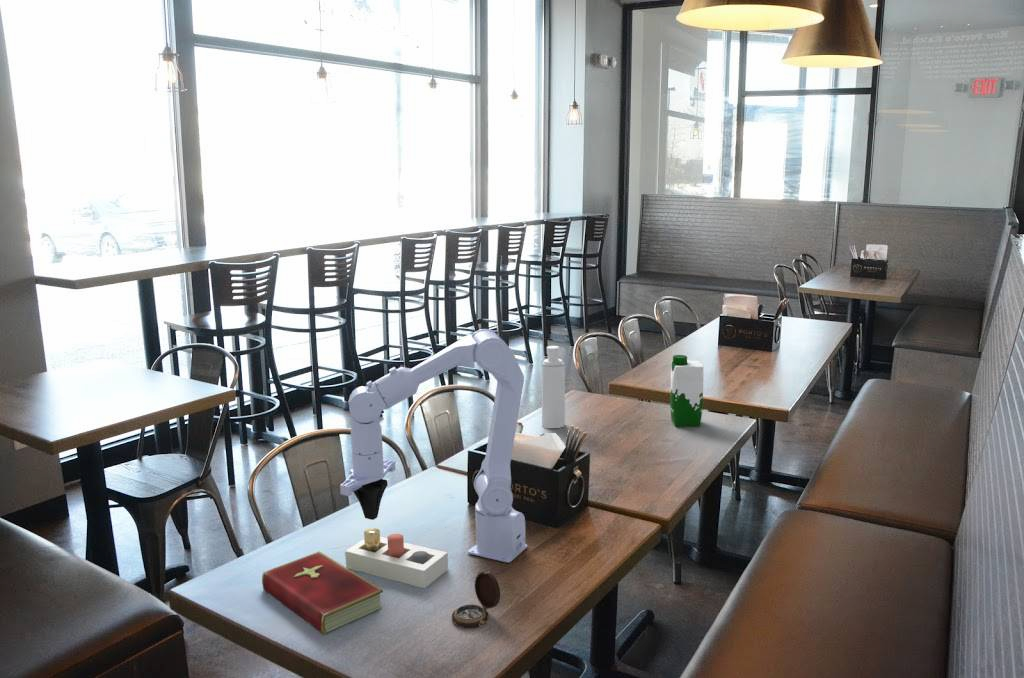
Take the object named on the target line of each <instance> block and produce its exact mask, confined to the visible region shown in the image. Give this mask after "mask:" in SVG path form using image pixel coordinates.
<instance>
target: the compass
mask: <svg viewBox="0 0 1024 678" xmlns="http://www.w3.org/2000/svg"><path fill="white" fill-rule="evenodd" d="M474 590H475V596H476V598H477V600H478V602H479V603H480V605H481V606H480V605H477V604H472V603H471V604H469V603H468V604H465V605H464V604H463V605H462V606H461V605H460V606H459V607H458V608H456V609H454V610H453V612H452V614H451V621H452V622H453V624H454V625H456V626H457V627H460V628H464V629H465V628H466V629H473V628H478V627H480V628H488V627H490V626H491V623H490V621H488V619H489V612H488V611H487V610H489V609H492V608H495V607H497V606H498V605H499V602H500V600H501V588H500V584H499V582H498V580H497V577H496V576H495V575H494V574H493V573H492V572H491V571H488V570H487V571H485V570H484V571H482V572H481V571H480V573H477V575H476V577H475V581H474ZM485 623H488V625H486V626H483V625H485Z"/></svg>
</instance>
